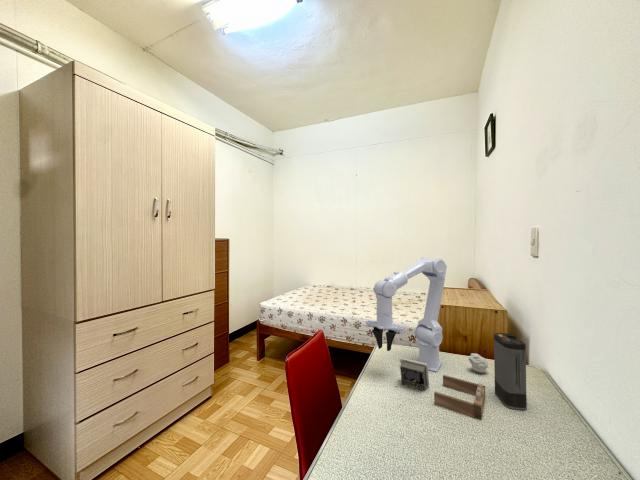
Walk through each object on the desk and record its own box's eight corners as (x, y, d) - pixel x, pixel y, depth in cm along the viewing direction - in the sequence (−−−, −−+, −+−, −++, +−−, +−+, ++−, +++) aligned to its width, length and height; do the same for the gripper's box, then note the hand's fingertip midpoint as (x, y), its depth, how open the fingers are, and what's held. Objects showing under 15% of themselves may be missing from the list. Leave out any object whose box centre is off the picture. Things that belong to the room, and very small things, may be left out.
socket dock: (443, 384, 92) (443, 369, 92) (485, 396, 85) (485, 379, 85) (434, 404, 81) (434, 386, 81) (481, 420, 74) (481, 400, 74)
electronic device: (529, 411, 77) (528, 343, 78) (506, 408, 79) (505, 342, 79) (512, 393, 87) (511, 333, 87) (492, 391, 88) (492, 332, 88)
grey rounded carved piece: (465, 368, 105) (464, 350, 105) (482, 368, 104) (482, 350, 104) (473, 375, 99) (473, 357, 99) (492, 376, 98) (492, 357, 98)
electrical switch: (429, 386, 91) (428, 361, 90) (426, 395, 87) (425, 368, 86) (402, 379, 96) (401, 355, 96) (398, 387, 92) (397, 361, 91)
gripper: (362, 312, 99) (362, 347, 99) (399, 318, 91) (400, 357, 91) (370, 308, 105) (370, 342, 105) (406, 313, 96) (406, 350, 96)
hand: (384, 348), depth 98 cm, fingers open, 3 cm apart
